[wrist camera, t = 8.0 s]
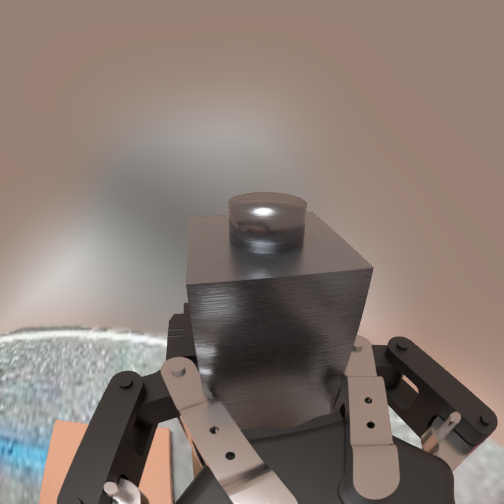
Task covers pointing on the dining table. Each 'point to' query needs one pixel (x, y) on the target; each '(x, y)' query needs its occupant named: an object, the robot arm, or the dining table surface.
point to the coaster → (64, 449)
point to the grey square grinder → (273, 308)
